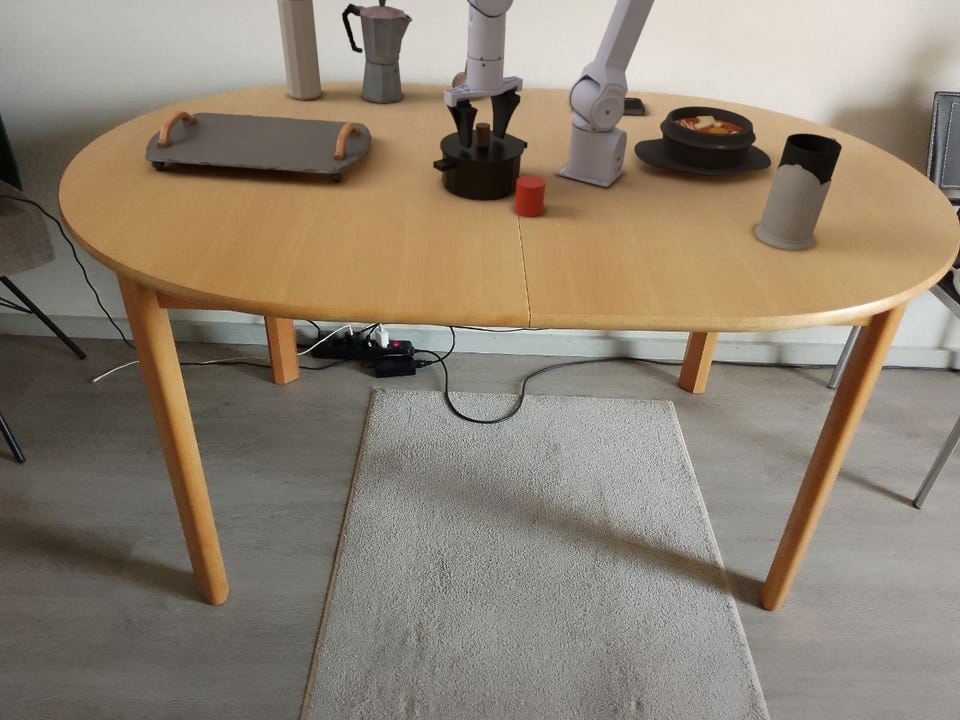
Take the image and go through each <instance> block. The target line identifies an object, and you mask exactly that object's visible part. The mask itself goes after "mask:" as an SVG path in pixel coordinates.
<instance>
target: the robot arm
mask: <svg viewBox="0 0 960 720" xmlns="http://www.w3.org/2000/svg"><path fill="white" fill-rule="evenodd" d="M466 2H467V4H469V5H468V22H467V50H466V51H467V52H466V60H467V79H465V83H464V84H462V85H459V86H457V87H455V88H450V89H448V90H444V91H443V104H444V105H446V107H447V109H448V110H449V113H450V115H451V117H452V119H453V122H454V125H455V128H456V132H458V135H459V140H460V145H462V146H464V147H466V148H471V145H472V138H473V130H474V126H475V120H476V118H477V114H478V111H479V109H477V108H476V107H474V106H472V103H470V102H472V101H477V100H481V99H485V98H490V102H491V108H492V109H491V110H492V130H493V136H495V137H497V138H499V139H504V137H505V133H507V129H508V128H509V124H510V121H511V119H512V116H513V114H514V113H515V111H516V109H517V107H518V106H519V105H520V103H521V99H522V98H521V95H520V94H517V93H519V92H522V91H523V84H524V83H523V82H524V79H523V78H522V77H519V76H515V75H513V76H507V77H506V76H504V69H505V68H504V67H505V51H506V50H505V49H506V47H505V46H506V32H507V31H506V30H507V25H506V22H507V13H508V11H509V10H510V9H511V7H512V6H513V3H514V0H466ZM654 3H655V0H616V3H615V6H614V8H613V9H612V10H613V11H612V13H611V15H610V18H609V21H608V23H607V26H606V28H605V31H604V34H603V36H602V39H601V41H600V44H599V47H598V50H597V51H596V55H595V57H594V59H593V60H592V61H590V62H589V63H588V64H587V65H585V66H584V67H583V69H582V72H581V73H580V76H579V77H578V79H577V80H576V81H575V82H574V83H573V84H572V86H571V87H570V90H569V92H568V104H569V106H570V108H571V109H572V111H573V114H572V120H571V128H570V137H569V145H568V153H567V154H568V155H567V162H566V165H565V166H564V167H562V168H561V169H560V170H559V171H558V172H557V175H558V176H559V177H564V178H568V179H572V180H576V181H580V182H584V183H588V184H591V185H596V186H599V187H603V188H608V187H609V186H610V185H611V184H612V183H614V182H615V180H617V179H618V178H619V177H620V176H621V175H622V174H623V173H624V170H623V167H624V161H625V154H626V149H627V143H628V142H627V140H628V133H627V131H625V130H623V129H620V128H618V127H617V125H618V124H619V122H620V121H621V120H622V118H623V116H624V114H623V113H624V100H625V98H626V96H627V93H628V92H629V88H628V87H629V86H628V82H627V76H626V71H627V68H628V67H629V64H630V61H631V59H632V57H633V54H634V51H635V49H636V46H637V44H638V42H639V40H640V37H641V34H642V32H643V29H644V27H645V25H646V22H647V20H648V18H649V15H650V12H651V10H652V8H653V5H654Z"/></svg>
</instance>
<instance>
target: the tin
mask: <svg viewBox="0 0 960 720" xmlns="http://www.w3.org/2000/svg"><path fill="white" fill-rule="evenodd" d="M545 194H546V180H545V179H544V178H542V177H540V176H539V175H538V176H537V175H529V174H527V175H522V176H519V178H518V179H517V180H516V192H515V195H514V196H515V198H514V212H515V213H516V214H518V215H520V216H523V217H528V218H531V217H538V216H540V215H542V214H543V212H544V204H545Z"/></svg>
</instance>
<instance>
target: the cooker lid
mask: <svg viewBox="0 0 960 720" xmlns="http://www.w3.org/2000/svg"><path fill="white" fill-rule="evenodd" d="M518 138H519V137H516V136H515V135H513V134H510V133H507V132H506V133H505V137H504V139H499V138H497V137H495V136H493V129H491V124H490V123H488V122H477V123H476V124H475V129H473V138H472V145H471V148H466V147H464V146H462V145H460V140H459V135H458V131H455V132H452V133H450V134H447V135H445V136H444V137H442V139H441V140H440V143H439V149H440V151H441V152H443V153H444V154H445V155H447V156H448V157H450V158H453V159H455V160H458V161H462V162H466V163H473V164H499V163H505V162H509V161H512V160H515V159H517V158H518V157H520V156H521V157H522V156H523V154H524V152H525V149H524V144H523V142H522V141H521V140H522V139H521V140H519V139H520V138H519V139H518Z"/></svg>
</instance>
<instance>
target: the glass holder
mask: <svg viewBox="0 0 960 720" xmlns="http://www.w3.org/2000/svg"><path fill="white" fill-rule="evenodd" d="M842 149H843V146H842V145H841V144H840V143H839V142H838V141H837V139H836V138H835V137H827V136H824V135H819V134H814V133H804V132H803V133H802V132H801V133H794V134H791V135H788V136H787V138H786V140H785V144H784V148H783V151H782V154H781V156H780V160H779V164H778V165H777V166H776V170H775V173H774V176H773V179H772V183H771V185H770V190H769V193H768V196H767V200H766V203H765V206H764V210H763V212H762V215H761V218H760V222H759V224H758V225H757V226H756V227H755V229H754V235H755V236H756V238H757V239H758V240H760V241H761V242H763V243H764V244H765V245H768V246H771V247H774V248H777V249H781V250H787V251H802V250H803V251H804V250H807V249H809V248H810V247H812V246H813V245H814V232H815V229H816V226H817V223H818V220H819V218H820V215H821V212H822V210H823V206H824V204H825V201H826V199H827V195H828V193H829V189H830V186H831V184H832V181H833V179H832V177H833V174H834V172H835V169H836V167H837V163H838V160H839V158H840V155H841V151H842Z"/></svg>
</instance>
